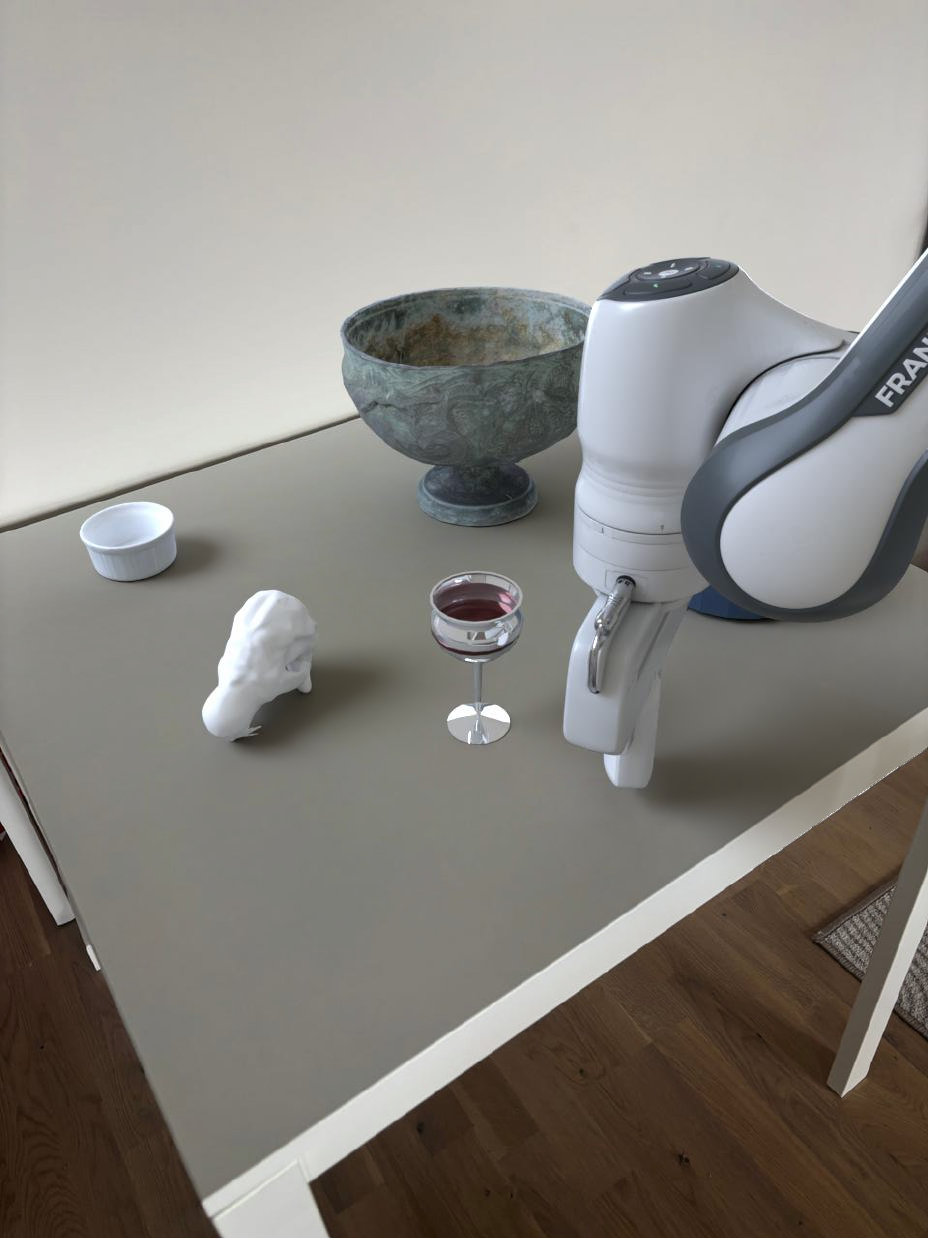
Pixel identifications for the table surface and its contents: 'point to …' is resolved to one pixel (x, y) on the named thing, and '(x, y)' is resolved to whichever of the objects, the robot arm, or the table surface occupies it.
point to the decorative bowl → (468, 389)
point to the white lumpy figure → (261, 661)
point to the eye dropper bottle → (638, 747)
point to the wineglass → (476, 641)
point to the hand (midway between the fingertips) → (632, 713)
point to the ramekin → (130, 540)
